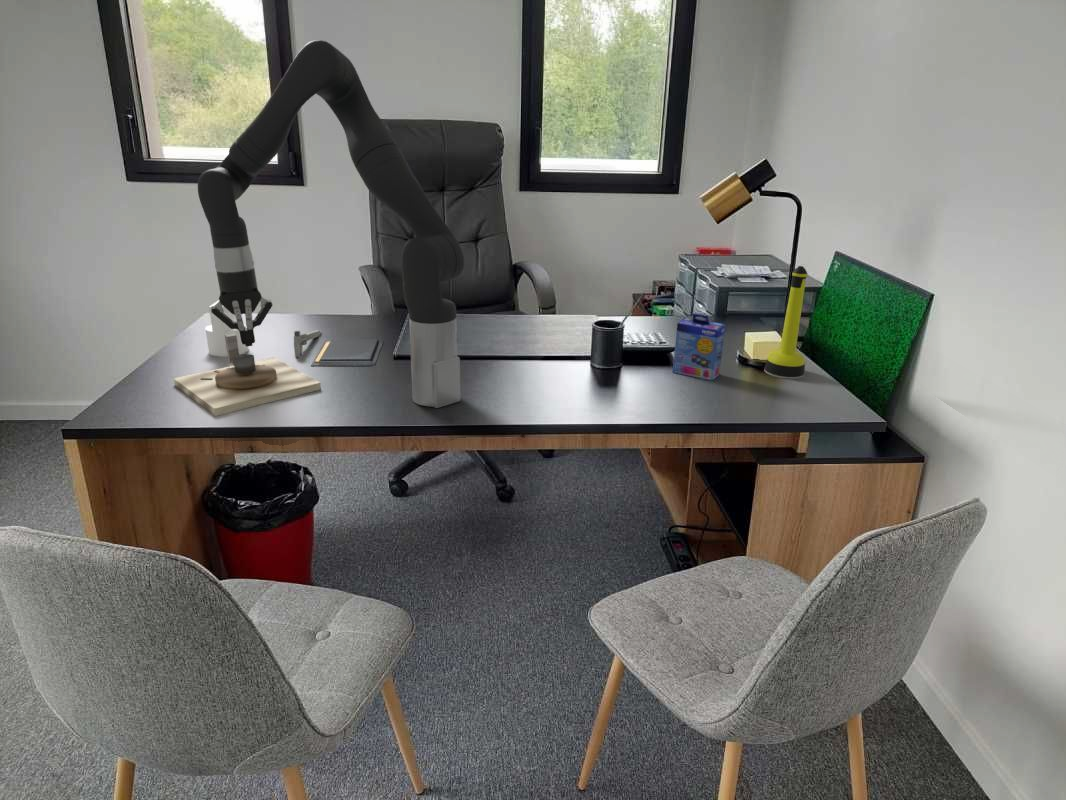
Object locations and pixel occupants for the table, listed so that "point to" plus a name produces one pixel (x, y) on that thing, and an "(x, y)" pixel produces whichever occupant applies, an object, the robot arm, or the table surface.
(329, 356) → the dark grey flat block
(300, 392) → the dial board
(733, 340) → the table surface
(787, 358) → the flashlight
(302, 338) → the caliper
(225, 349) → the cylinder with rectangular tab
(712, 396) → the table surface
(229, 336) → the dial
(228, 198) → the robot arm
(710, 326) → the ink cartridge box
